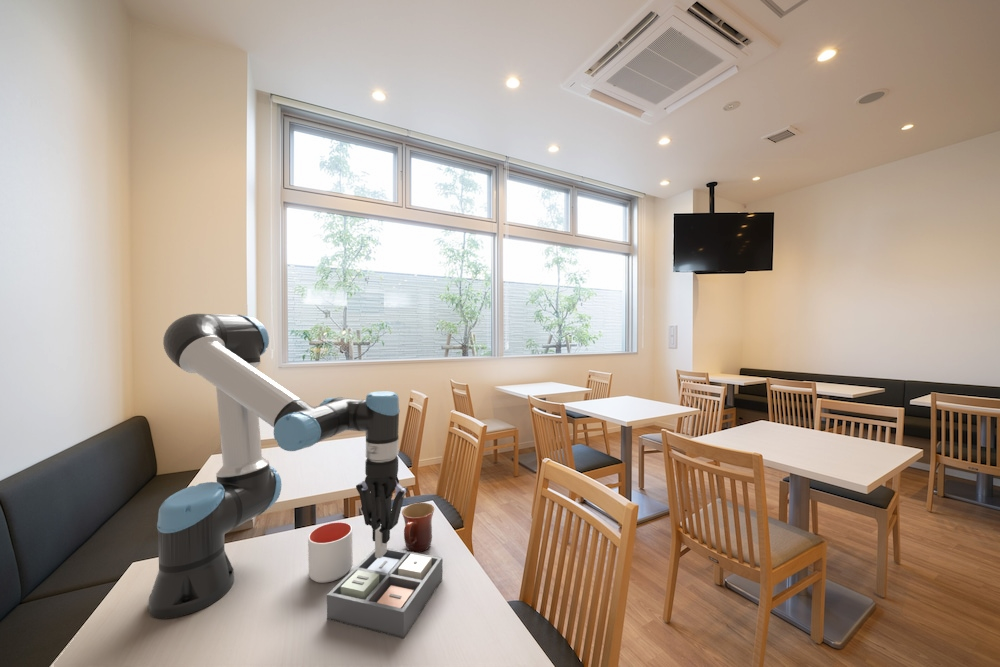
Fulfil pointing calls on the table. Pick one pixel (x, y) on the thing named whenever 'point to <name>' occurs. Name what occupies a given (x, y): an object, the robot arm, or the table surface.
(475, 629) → the table surface
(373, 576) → the sage key
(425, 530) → the mug
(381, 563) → the slate key
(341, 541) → the cup
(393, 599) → the terracotta key
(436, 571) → the grey compartment tray
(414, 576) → the cream key
